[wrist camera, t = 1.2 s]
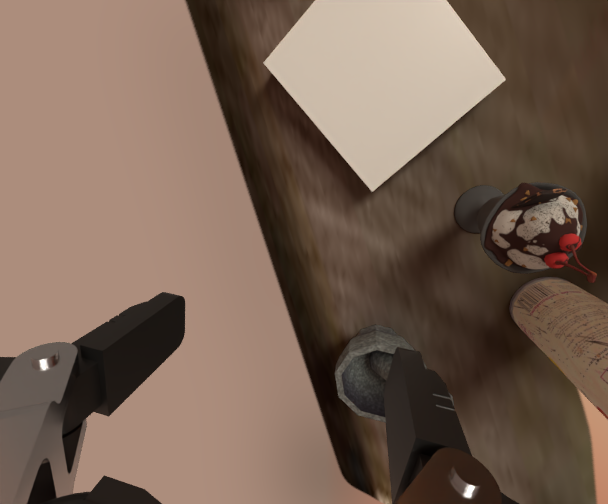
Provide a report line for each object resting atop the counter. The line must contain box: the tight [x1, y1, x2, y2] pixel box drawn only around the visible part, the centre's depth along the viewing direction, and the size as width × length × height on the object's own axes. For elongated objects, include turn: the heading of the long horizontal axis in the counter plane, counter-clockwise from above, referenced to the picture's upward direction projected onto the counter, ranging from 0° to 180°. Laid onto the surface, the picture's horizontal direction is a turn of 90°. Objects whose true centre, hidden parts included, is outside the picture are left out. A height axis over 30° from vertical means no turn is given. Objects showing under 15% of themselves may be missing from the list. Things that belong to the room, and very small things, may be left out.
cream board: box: [264, 0, 506, 192], centre depth 28 cm, size 14×16×3 cm
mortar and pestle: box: [335, 325, 454, 423], centre depth 31 cm, size 11×9×12 cm
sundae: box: [455, 182, 597, 283], centre depth 23 cm, size 7×7×15 cm
